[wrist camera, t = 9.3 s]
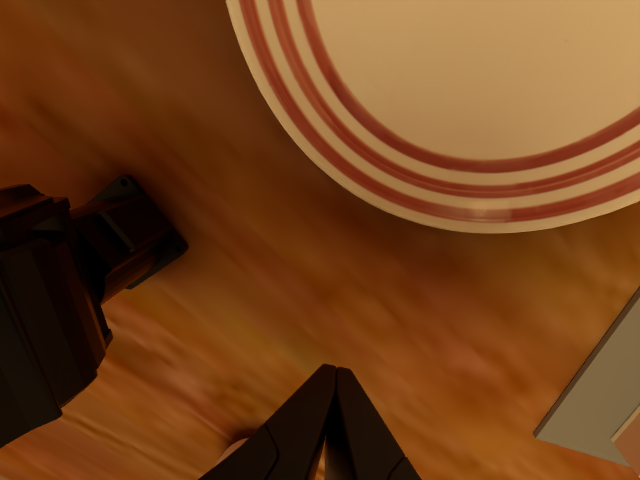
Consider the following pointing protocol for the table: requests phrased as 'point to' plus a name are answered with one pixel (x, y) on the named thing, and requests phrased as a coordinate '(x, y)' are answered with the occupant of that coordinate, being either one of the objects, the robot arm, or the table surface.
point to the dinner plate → (458, 103)
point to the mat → (600, 392)
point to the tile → (630, 441)
